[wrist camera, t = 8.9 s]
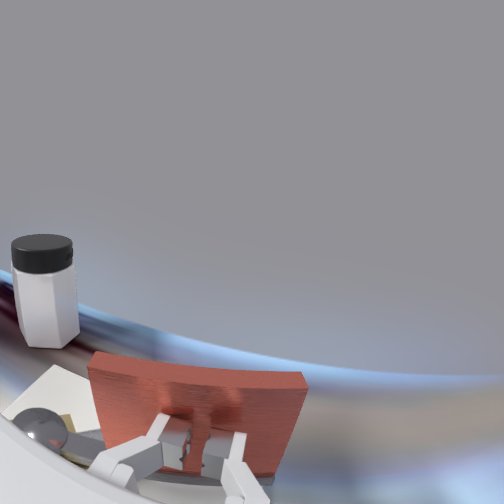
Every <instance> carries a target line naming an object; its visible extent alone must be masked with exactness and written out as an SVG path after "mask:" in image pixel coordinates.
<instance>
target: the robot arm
mask: <svg viewBox="0 0 504 504" xmlns="http://www.w3.org/2000/svg"><path fill="white" fill-rule="evenodd" d="M193 429H194V423H193V422H190V421H186V420H183V419H180V418H176V417H173V416H170V415H167V414H163V413H159V414H158V415H157V417H156V419H155V420H154V422H153V424H152V426H151V427H150V429H149V431H148V433H147V434H146V436H140V437H138V438H135V439H133V440H130V441H128V442H126V443H123V444H121V445H118V446H116V447H113V448H110V449H108V450H105V451H102V452H100V453H99V454H98V456H97V457H96V459H95V460H94V461H93V463H92V464H91V466H90V467H89V469H88V470H87V471H86V470H84V469H82V468H80V467H78V466H77V465H75V464H73V463H71V462H69V461H68V460H66V459H64V458H63V457H61V456H59V455H58V454H56V453H54V452H53V451H51V450H50V449H48V448H47V447H45V446H44V445H42V444H41V443H39V442H38V441H36V440H35V439H33V438H32V437H30V436H29V435H28V434H26V433H25V432H24V431H22V430H21V429H20V428H18V427H17V426H16V425H14V424H13V423H12V422H10V421H9V420H8V419H7V418H6V417H4V416H3V415H2V414H1V413H0V504H166V503H163V502H160V501H157V500H154V499H151V498H148V497H145V496H142V495H140V492H139V489H138V485H137V482H138V481H140V480H142V479H143V478H145V477H147V476H148V475H150V474H152V473H153V472H155V471H157V470H158V469H160V468H161V467H163V465H164V466H167V467H171V468H174V469H178V470H182V471H183V468H184V466H185V463H186V460H187V454H188V453H190V450H191V447H192V443H193V436H194V434H193V433H192V432H193ZM246 438H247V434H246V433H241V432H235V431H230V430H225V429H220V428H215V427H211V429H210V432H209V438H208V441H206V444H205V447H204V450H203V455H202V463H203V464H202V467H201V476H205V477H209V478H213V479H217V480H221V484H222V486H223V488H224V490H225V492H226V495H227V497H226V501H225V504H270V499H269V498H268V496H267V495H266V493H265V492H264V490H263V489H262V487H261V486H260V484H259V483H258V481H257V480H256V478H255V476H254V475H253V473H252V472H251V470H250V469H249V467H248V465H247V464H246V462H242V460H243V455H244V449H245V444H246Z"/></svg>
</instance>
